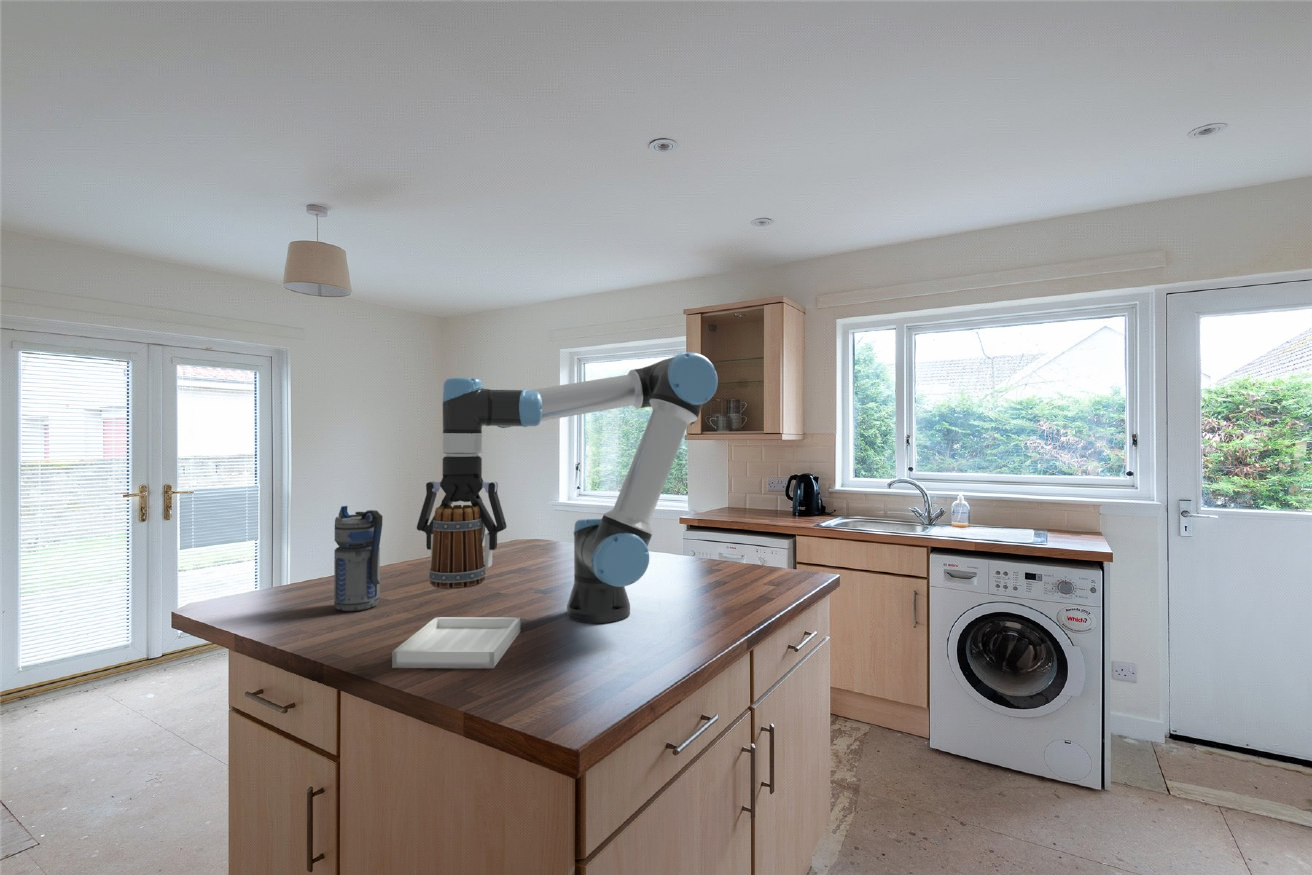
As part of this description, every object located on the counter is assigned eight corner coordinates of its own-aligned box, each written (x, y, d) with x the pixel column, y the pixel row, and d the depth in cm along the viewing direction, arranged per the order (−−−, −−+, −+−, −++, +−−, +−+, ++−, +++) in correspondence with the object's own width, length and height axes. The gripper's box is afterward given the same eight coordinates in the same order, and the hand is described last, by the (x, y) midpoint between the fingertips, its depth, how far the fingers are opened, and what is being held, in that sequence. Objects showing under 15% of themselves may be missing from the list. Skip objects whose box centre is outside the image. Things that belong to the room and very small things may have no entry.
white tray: (520, 631, 134) (520, 617, 134) (493, 668, 112) (493, 651, 112) (435, 630, 134) (435, 617, 134) (392, 667, 113) (392, 651, 113)
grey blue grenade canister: (362, 615, 145) (363, 510, 145) (322, 609, 150) (322, 507, 150) (395, 605, 155) (396, 506, 155) (357, 599, 160) (357, 503, 160)
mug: (469, 591, 115) (469, 510, 115) (418, 588, 117) (417, 509, 117) (505, 572, 130) (505, 502, 130) (459, 570, 132) (459, 501, 132)
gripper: (522, 454, 127) (522, 562, 127) (413, 454, 127) (413, 561, 127) (513, 455, 119) (513, 570, 119) (398, 455, 120) (397, 569, 120)
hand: (461, 565), depth 123 cm, fingers closed on mug, 10 cm apart
